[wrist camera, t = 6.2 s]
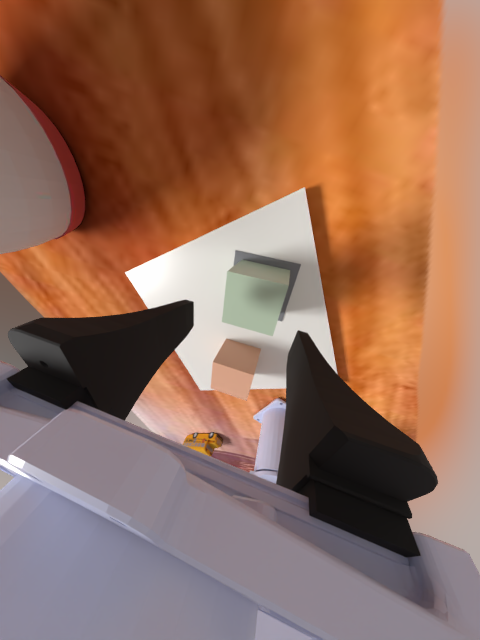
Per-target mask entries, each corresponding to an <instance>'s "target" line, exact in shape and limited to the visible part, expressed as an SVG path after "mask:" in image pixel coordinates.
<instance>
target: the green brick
mask: <svg viewBox="0 0 480 640" xmlns="http://www.w3.org/2000/svg"><path fill="white" fill-rule="evenodd" d="M289 278H290V270H287V269H283V268H278V267H273V266H269V265H264V264H260V263H255V262H251V261H246V260H241V261H240V262H238V263H237V264H236V265H234V266H233V267H232V268H231V269H229V270H228V271H227V278H226V287H225V297H224V307H223V316H222V322H224V323H227V324H231V325H234V326H238V327H241V328H245V329H248V330H252V331H255V332H259V333H262V334H266V335H270V336H273V334H274V330H275V327H276V324H277V321H278V318H279V315H280V312H281V308H282V305H283V302H284V299H285V296H286V293H287V290H288V286H289Z"/></svg>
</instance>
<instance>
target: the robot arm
mask: <svg viewBox="0 0 480 640" xmlns="http://www.w3.org/2000/svg"><path fill="white" fill-rule="evenodd" d="M193 326H194V302H193V301H189V300H181V301H177V302H173V303H170V304H166V305H162V306H159V307H155V308H151V309H147V310H143V311H138V312H133V313H127V314H120V315H111V316H102V317H86V318H39V319H36V320H33V321H31V322H28V323H25V324H23V325H20V326H18V327H15V328H12V329H11V330H10V331H9V332H8V338H9V340H10V342H11V344H12V345H13V347H14V348H15V350H16V351H17V352H18V353H19V355H20V356H21V357H22V359H23V360H24V361H25V363H26V364H27V365H28V367H27V368H25V369H23V370H21V371H20V370H19V369H17V368H16V367H14V366H12V365H10V364H7V363H5V362H2V361H0V470H2V471H4V472H6V473H7V474H9V475H11V476H13V477H14V478H13V479H12V480H11V481H10V482H9V483H8V484H7V485H6V486H4V487H3V488H2V489H1V490H0V640H480V574H479V572H478V571H477V568H476V566H475V565H474V563H473V561H472V559H471V557H470V555H469V554H468V553H467V552H466V551H465V550H463V549H460V548H458V547H456V546H453V545H451V544H448V543H446V542H443V541H441V540H438V539H436V538H434V537H431V536H428V535H425V534H422V533H416V532H412V531H411V528H410V525H409V523H408V520H407V518H408V519H410V518H412V513H411V511H410V508H409V505H408V503H407V501H410V500H413V499H415V498H418V497H421V496H423V495H426V494H428V493H430V492H431V491H433V490H434V489H435V487H436V485H437V484H438V480H437V476H436V474H435V472H434V471H433V469H432V467H431V465H430V463H429V461H428V460H427V458H426V456H425V454H424V452H423V451H422V449H421V447H420V446H419V444H417V443H416V442H415V441H413V440H412V439H411V438H409V437H408V436H407V435H405V434H404V433H403V432H401V431H400V430H399V429H397V428H396V427H395V426H393V425H392V424H391V423H389V422H388V421H387V420H386V419H384V418H383V417H382V416H381V415H380V414H378V413H377V412H376V411H375V410H374V409H372V408H371V407H370V406H369V405H368V404H367V403H366V402H364V401H363V400H362V399H361V398H360V397H359V396H358V395H357V394H356V393H355V392H354V391H353V390H352V389H351V388H350V387H349V386H348V385H347V384H346V383H345V382H344V381H343V380H342V379H341V378H340V377H339V376H338V374H337V373H336V372H335V371H334V370H333V369H332V367H331V366H330V365H329V363H328V362H327V361H326V360H325V358H324V357H323V355H322V354H321V353H320V351H319V350H318V348H317V347H316V345H315V343H314V342H313V340H312V339H311V337H310V336H309V334H308V333H306V332H303V331H299V330H298V331H297V333H296V336H295V338H294V341H293V343H292V345H291V348H290V350H289V353H288V358H287V365H286V402H285V401H283V400H282V399H280V398H277V399H275V400H274V401H273V402H271V403H270V404H269V405H267V406H266V407H265V408H263V409H262V410H261V411H259V412H258V413H257V414H255V415H254V419H255V420H257V421H258V422H260V423H262V425H261V431H260V437H259V444H258V450H257V456H256V462H255V468H254V471H250V473H248V472H246V471H244V470H241V469H239V468H237V467H234V466H232V465H229V464H227V463H225V462H222V461H220V460H217V459H215V458H213V457H210V456H208V455H205V454H203V453H201V452H198V451H196V450H193V449H191V448H189V447H186V446H184V445H182V444H179V443H177V442H174V441H172V440H170V439H167V438H165V437H162V436H160V435H158V434H155V433H153V432H150V431H148V430H146V429H143V428H141V427H138V426H136V425H134V424H131V423H129V422H127V421H125V419H126V417H127V416H128V414H129V412H130V411H131V409H132V407H133V406H134V404H135V402H136V401H137V399H138V398H139V396H140V395H141V393H142V392H143V390H144V388H145V387H146V386H147V384H148V383H149V381H150V380H151V378H152V377H153V375H154V374H155V373H156V371H157V370H158V369H159V367H160V366H161V365H162V363H163V362H164V361H165V360H166V359H167V357H168V356H169V355H170V354H171V353H172V352H173V351H174V350H175V349H176V348H177V347H178V346H179V344H180V343H181V342H182V341H183V340H184V339H185V338H186V337H187V335H188V334H189V332H190V331H191V329H192V328H193Z"/></svg>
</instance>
